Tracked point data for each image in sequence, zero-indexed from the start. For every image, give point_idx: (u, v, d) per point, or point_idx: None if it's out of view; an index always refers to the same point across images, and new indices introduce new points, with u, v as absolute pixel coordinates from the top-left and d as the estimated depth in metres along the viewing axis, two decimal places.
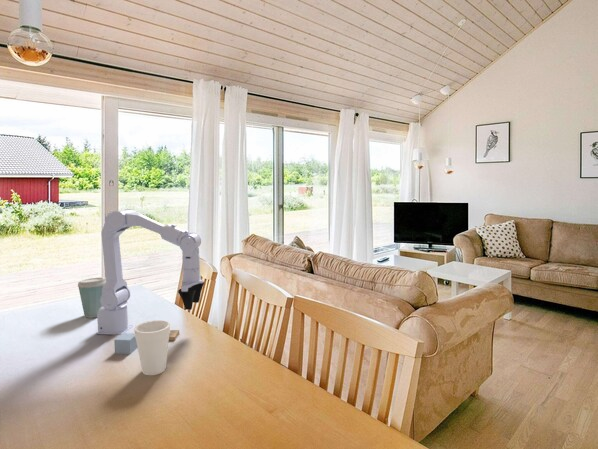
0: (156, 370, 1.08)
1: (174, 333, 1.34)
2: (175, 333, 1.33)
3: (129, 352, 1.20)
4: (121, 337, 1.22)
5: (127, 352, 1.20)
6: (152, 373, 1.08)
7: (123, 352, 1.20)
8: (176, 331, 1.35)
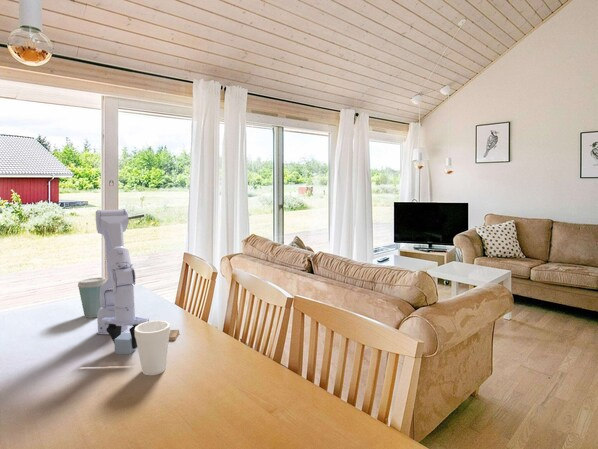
0: (156, 370, 1.08)
1: (174, 332, 1.34)
2: (175, 333, 1.33)
3: (129, 352, 1.20)
4: (121, 337, 1.22)
5: (127, 352, 1.20)
6: (152, 373, 1.08)
7: (123, 352, 1.20)
8: (176, 331, 1.35)
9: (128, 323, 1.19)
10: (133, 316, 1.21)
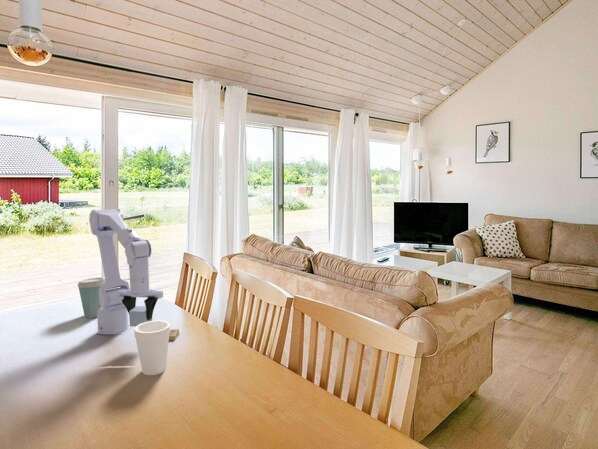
0: (156, 370, 1.08)
1: (174, 332, 1.34)
2: (175, 332, 1.33)
3: None
4: (135, 309, 1.24)
5: None
6: (152, 373, 1.08)
7: (138, 323, 1.23)
8: (176, 330, 1.35)
9: (143, 294, 1.22)
10: (148, 288, 1.24)
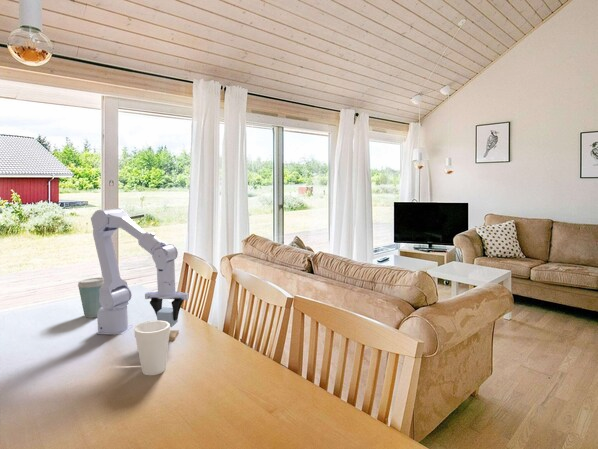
0: (156, 370, 1.08)
1: (174, 333, 1.34)
2: (174, 333, 1.33)
3: (170, 324, 1.30)
4: (162, 310, 1.31)
5: None
6: (152, 373, 1.08)
7: None
8: (175, 331, 1.35)
9: (170, 296, 1.29)
10: (174, 290, 1.31)
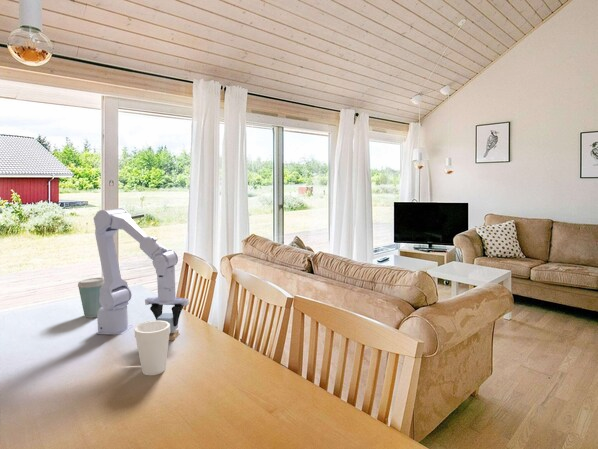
0: (156, 370, 1.08)
1: (174, 332, 1.34)
2: (174, 333, 1.33)
3: (171, 330, 1.30)
4: (163, 316, 1.32)
5: None
6: (152, 373, 1.08)
7: None
8: (175, 331, 1.35)
9: (170, 302, 1.29)
10: (174, 296, 1.31)
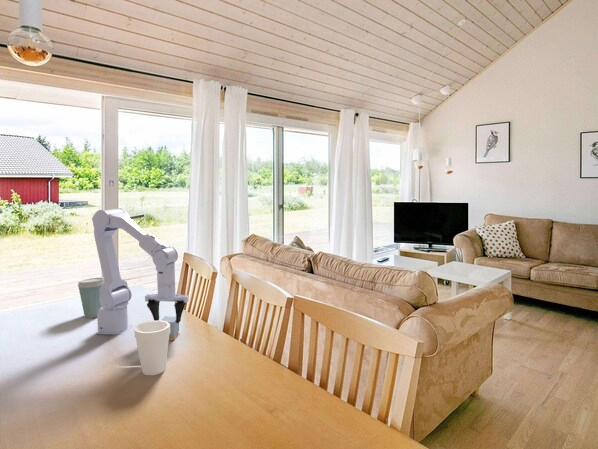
0: (156, 370, 1.08)
1: None
2: None
3: (173, 333, 1.31)
4: (165, 319, 1.32)
5: (171, 333, 1.31)
6: (152, 373, 1.08)
7: None
8: None
9: (170, 299, 1.29)
10: (174, 293, 1.31)
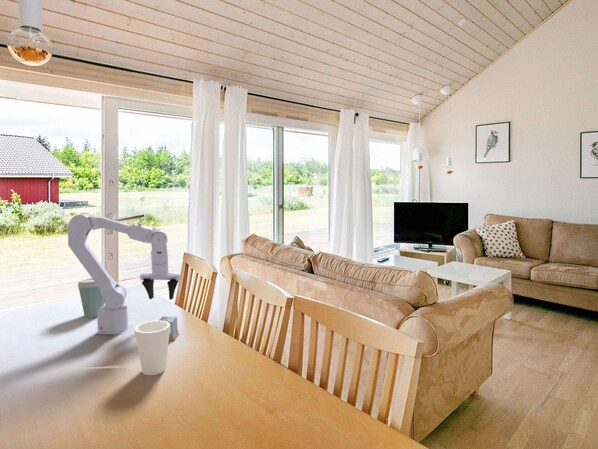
0: (156, 370, 1.08)
1: None
2: None
3: (172, 333, 1.30)
4: (163, 320, 1.32)
5: (170, 333, 1.30)
6: (152, 373, 1.08)
7: None
8: None
9: (163, 277, 1.40)
10: (167, 272, 1.42)
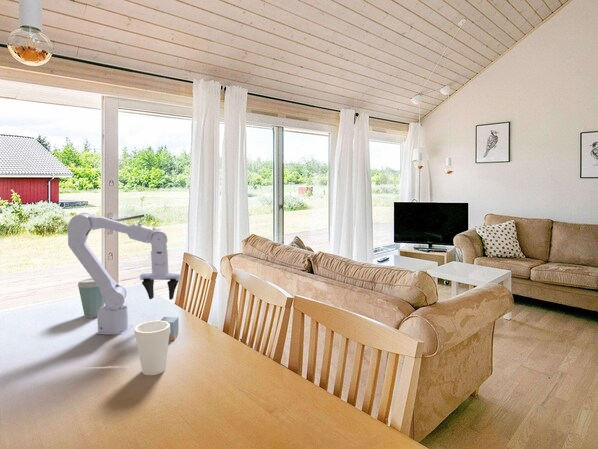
0: (156, 370, 1.08)
1: None
2: None
3: (172, 333, 1.30)
4: (164, 320, 1.32)
5: (170, 333, 1.30)
6: (152, 373, 1.08)
7: None
8: None
9: (163, 277, 1.40)
10: (167, 272, 1.42)
